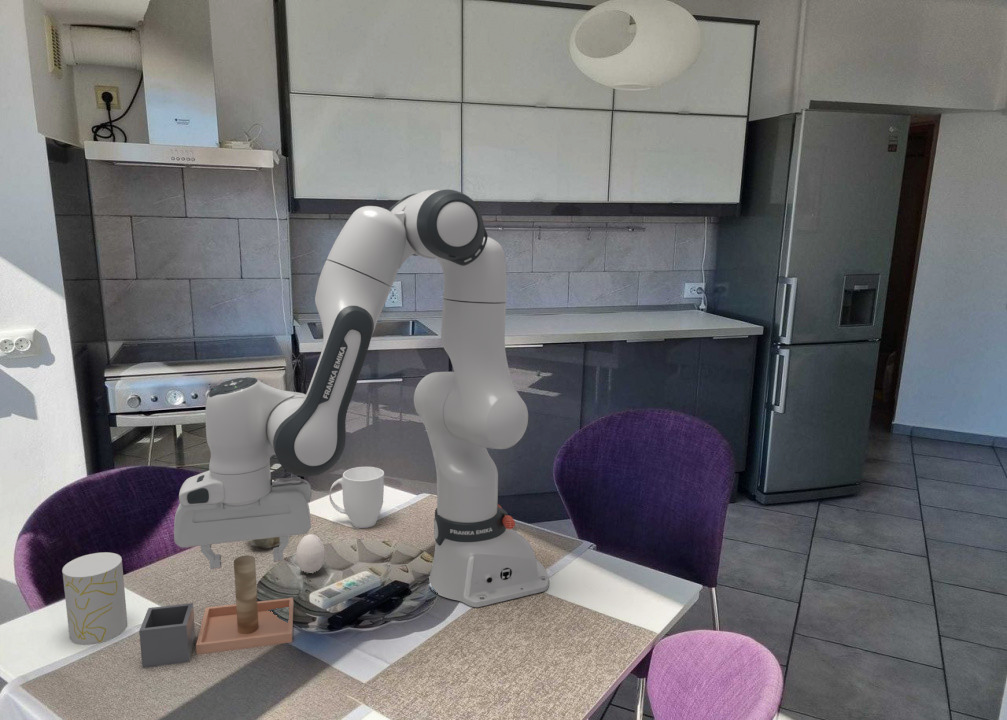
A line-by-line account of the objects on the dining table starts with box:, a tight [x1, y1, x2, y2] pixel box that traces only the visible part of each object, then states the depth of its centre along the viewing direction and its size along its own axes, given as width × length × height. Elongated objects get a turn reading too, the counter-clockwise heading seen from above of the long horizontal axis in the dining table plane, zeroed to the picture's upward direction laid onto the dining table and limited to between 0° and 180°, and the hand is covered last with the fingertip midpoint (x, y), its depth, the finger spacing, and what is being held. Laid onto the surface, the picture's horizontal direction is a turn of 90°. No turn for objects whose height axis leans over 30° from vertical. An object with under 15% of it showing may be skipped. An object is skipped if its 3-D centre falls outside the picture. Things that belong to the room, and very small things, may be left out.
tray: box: [195, 597, 294, 655], centre depth 116 cm, size 14×11×2 cm
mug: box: [329, 466, 385, 529], centre depth 156 cm, size 12×9×12 cm
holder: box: [138, 602, 197, 669], centre depth 109 cm, size 6×6×7 cm
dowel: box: [233, 554, 259, 634], centre depth 114 cm, size 3×3×12 cm
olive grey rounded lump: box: [248, 537, 281, 549], centre depth 146 cm, size 9×8×10 cm
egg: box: [295, 533, 326, 573], centre depth 135 cm, size 5×5×8 cm
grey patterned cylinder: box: [61, 551, 129, 646], centre depth 113 cm, size 8×8×12 cm
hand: (247, 563), depth 114 cm, fingers open, 8 cm apart
